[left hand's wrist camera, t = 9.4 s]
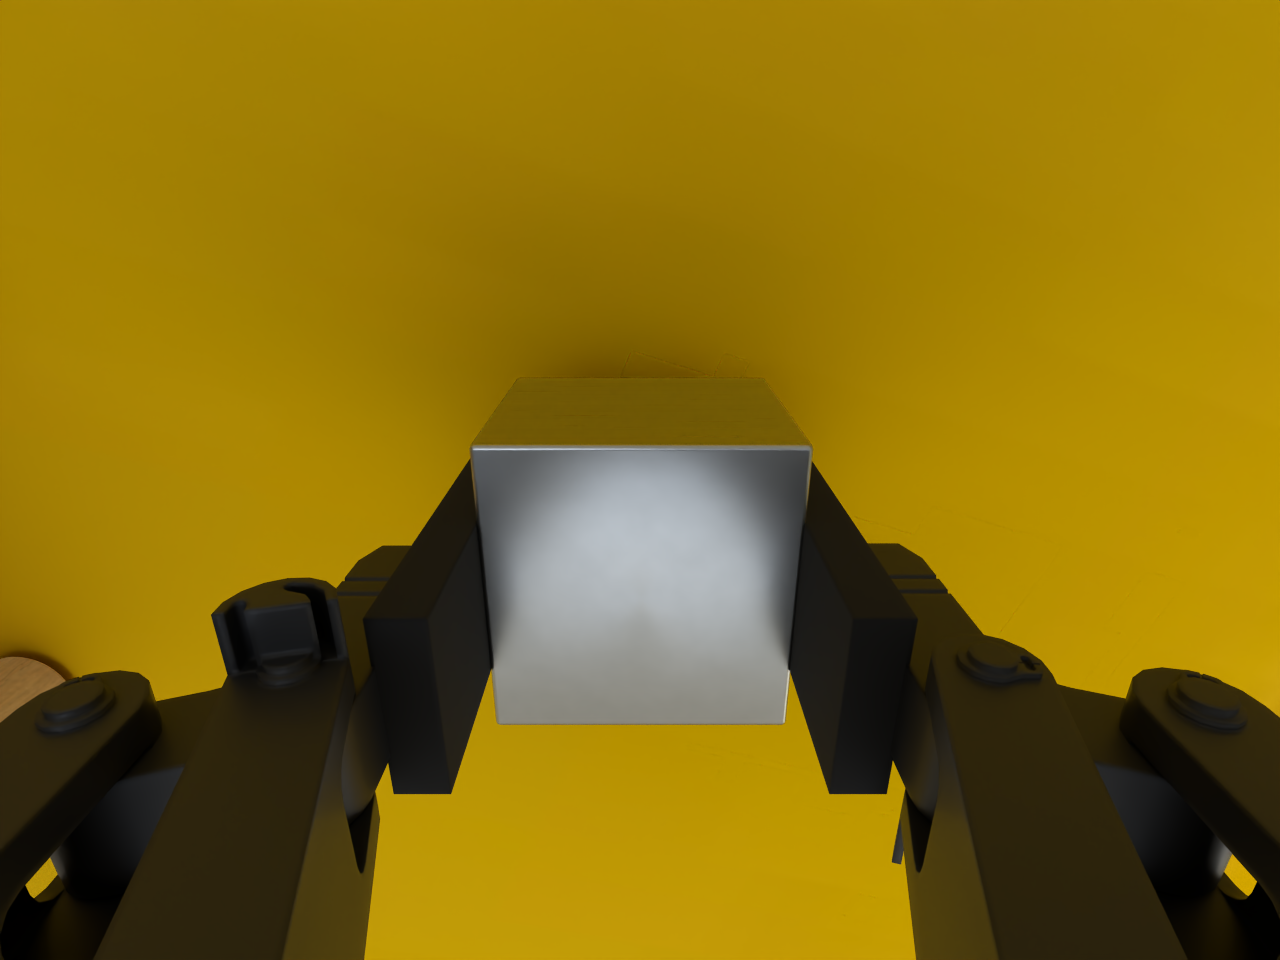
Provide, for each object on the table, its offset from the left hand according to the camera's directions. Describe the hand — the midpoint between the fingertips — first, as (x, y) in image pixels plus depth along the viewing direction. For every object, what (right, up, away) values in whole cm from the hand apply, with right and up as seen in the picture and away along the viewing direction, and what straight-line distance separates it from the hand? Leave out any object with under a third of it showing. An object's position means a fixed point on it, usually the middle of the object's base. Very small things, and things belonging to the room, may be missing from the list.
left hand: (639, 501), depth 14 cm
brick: (0, 0, 0) cm, 0 cm away
